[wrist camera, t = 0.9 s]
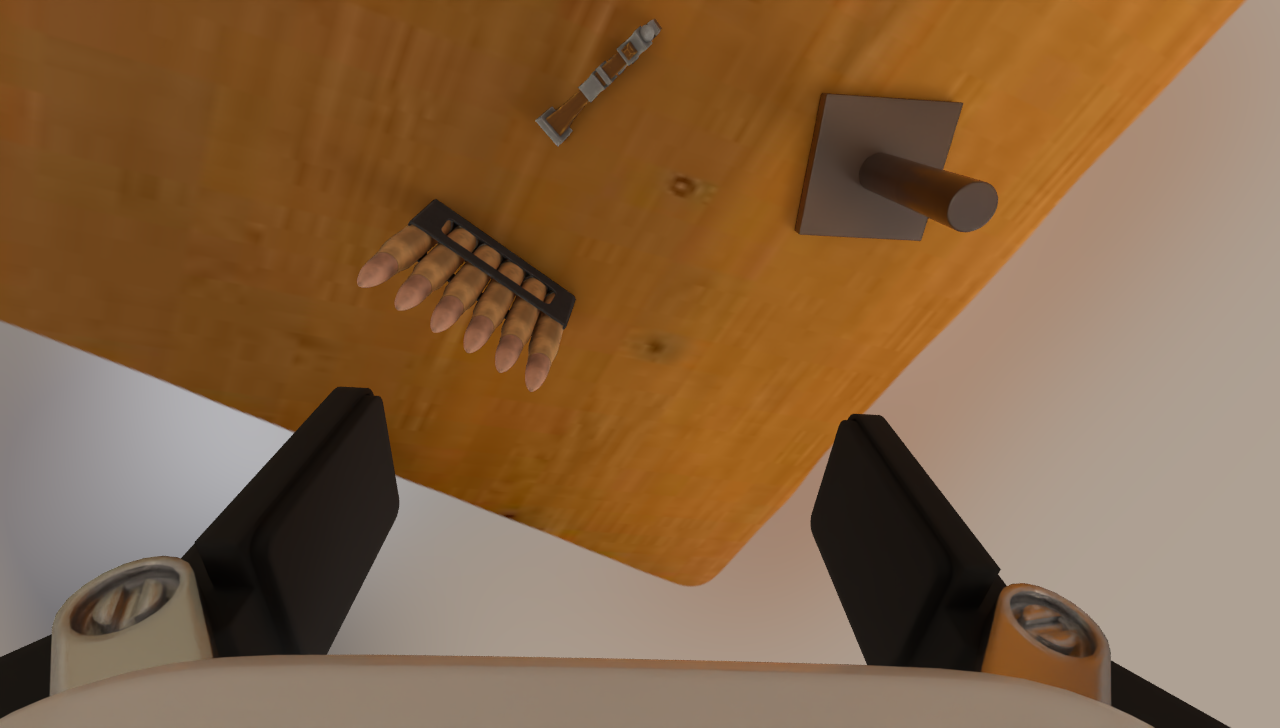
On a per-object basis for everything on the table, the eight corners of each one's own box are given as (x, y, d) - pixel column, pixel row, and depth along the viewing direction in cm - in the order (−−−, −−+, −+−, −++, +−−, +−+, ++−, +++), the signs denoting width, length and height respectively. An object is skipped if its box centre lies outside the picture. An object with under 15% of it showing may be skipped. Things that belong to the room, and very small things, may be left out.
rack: (821, 93, 31) (911, 100, 21) (954, 102, 32) (1101, 113, 22) (794, 230, 35) (861, 289, 25) (913, 236, 35) (1024, 297, 26)
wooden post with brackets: (681, 26, 29) (659, 49, 25) (584, 119, 34) (556, 148, 30) (659, -6, 28) (634, 14, 25) (564, 95, 33) (533, 121, 30)
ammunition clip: (576, 297, 37) (558, 387, 26) (561, 317, 37) (537, 413, 27) (434, 198, 33) (347, 255, 23) (420, 222, 34) (329, 288, 23)
